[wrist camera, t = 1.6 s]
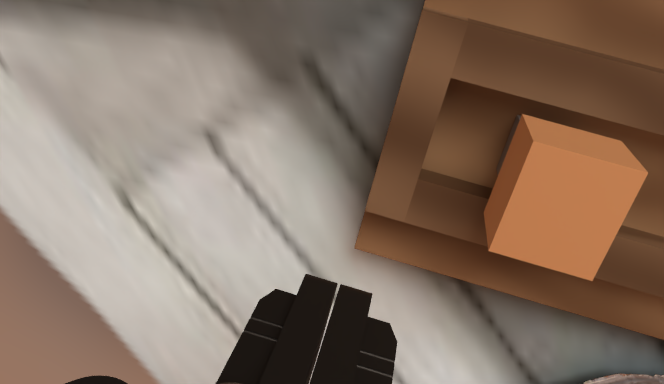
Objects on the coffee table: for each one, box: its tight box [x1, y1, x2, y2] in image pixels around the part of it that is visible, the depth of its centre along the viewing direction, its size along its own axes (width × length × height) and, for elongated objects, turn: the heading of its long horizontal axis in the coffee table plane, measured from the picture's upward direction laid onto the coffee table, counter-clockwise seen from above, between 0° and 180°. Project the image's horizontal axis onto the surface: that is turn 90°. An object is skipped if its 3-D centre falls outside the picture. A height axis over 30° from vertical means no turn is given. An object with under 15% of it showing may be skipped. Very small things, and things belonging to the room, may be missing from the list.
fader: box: [484, 114, 648, 281], centre depth 24 cm, size 5×4×7 cm
